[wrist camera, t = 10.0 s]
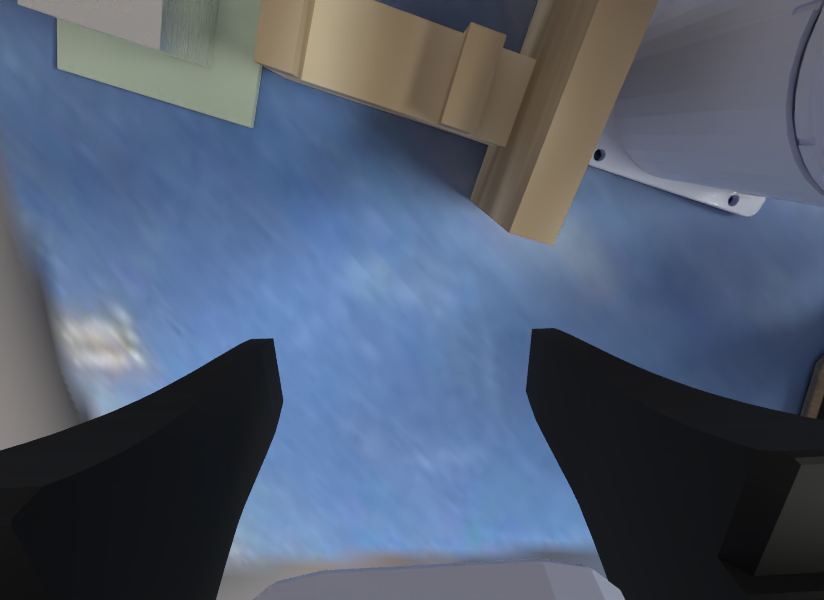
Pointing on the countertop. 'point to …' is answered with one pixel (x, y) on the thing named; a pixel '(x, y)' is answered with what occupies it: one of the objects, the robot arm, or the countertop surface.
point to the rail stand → (475, 86)
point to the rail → (145, 23)
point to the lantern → (815, 393)
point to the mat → (176, 65)
